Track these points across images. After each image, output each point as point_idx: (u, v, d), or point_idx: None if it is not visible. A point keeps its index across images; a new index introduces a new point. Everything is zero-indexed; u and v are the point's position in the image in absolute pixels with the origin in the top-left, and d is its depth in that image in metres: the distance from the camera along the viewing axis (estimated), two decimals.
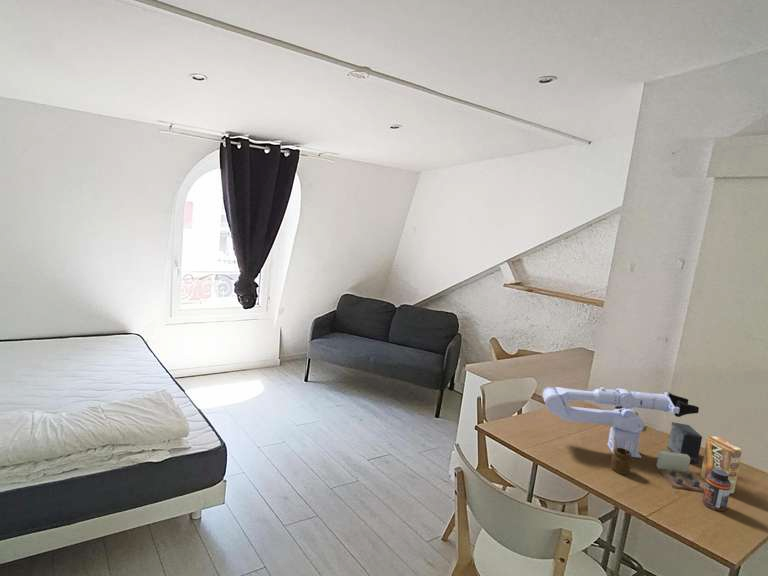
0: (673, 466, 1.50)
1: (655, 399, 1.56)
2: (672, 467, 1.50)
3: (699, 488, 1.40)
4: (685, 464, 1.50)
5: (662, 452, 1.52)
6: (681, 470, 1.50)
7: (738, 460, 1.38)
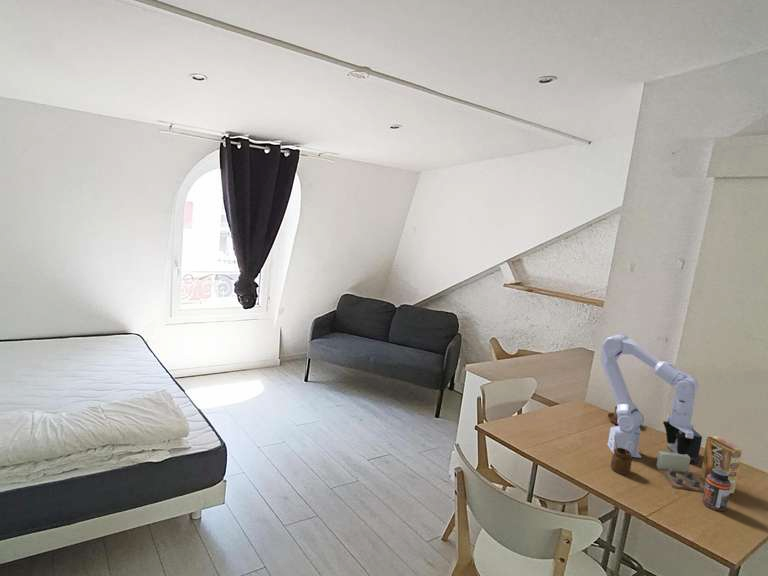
0: (673, 466, 1.50)
1: (690, 415, 1.46)
2: (672, 467, 1.50)
3: (699, 488, 1.40)
4: (685, 464, 1.50)
5: (662, 452, 1.52)
6: (681, 470, 1.50)
7: (738, 460, 1.38)
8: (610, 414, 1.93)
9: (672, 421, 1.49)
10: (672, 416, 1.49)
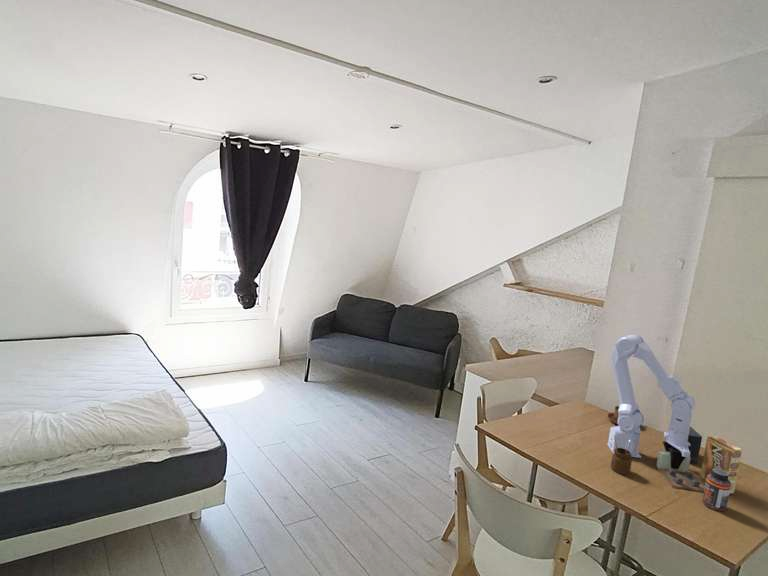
0: None
1: (687, 434, 1.47)
2: None
3: (699, 488, 1.40)
4: (685, 463, 1.50)
5: (662, 452, 1.52)
6: (681, 470, 1.50)
7: (738, 460, 1.38)
8: (610, 414, 1.93)
9: (669, 439, 1.50)
10: (669, 434, 1.50)
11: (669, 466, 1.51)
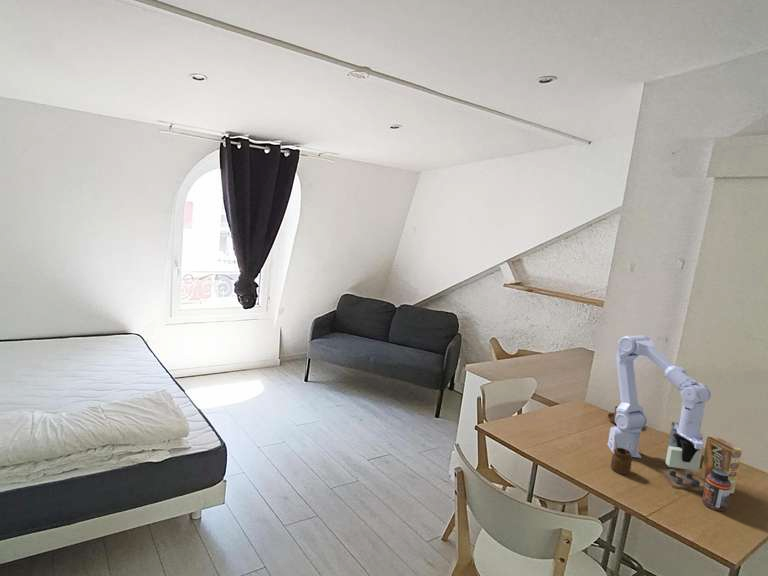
0: (683, 463, 1.42)
1: (699, 425, 1.39)
2: (682, 463, 1.42)
3: (699, 488, 1.40)
4: (696, 460, 1.41)
5: (671, 448, 1.43)
6: (692, 467, 1.42)
7: (738, 460, 1.38)
8: (610, 414, 1.93)
9: (680, 431, 1.41)
10: (680, 425, 1.42)
11: (679, 463, 1.42)
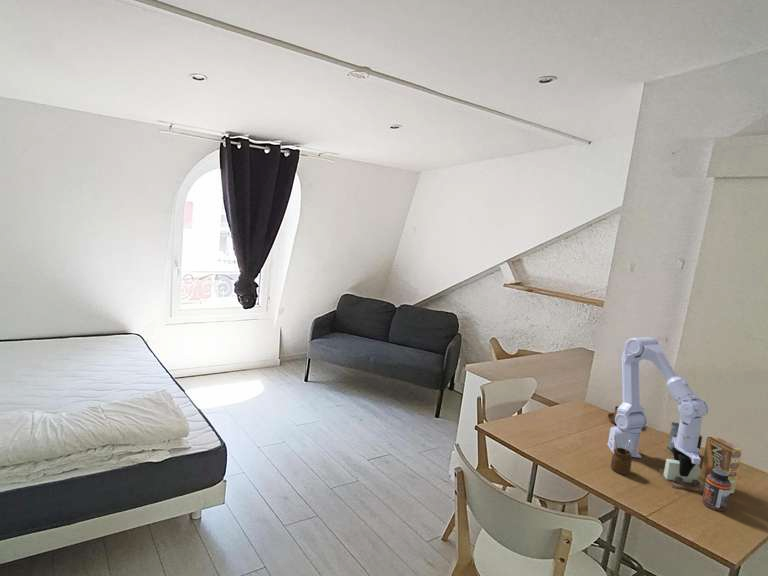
0: None
1: (697, 440, 1.39)
2: (680, 476, 1.43)
3: (699, 488, 1.40)
4: (694, 473, 1.42)
5: (670, 460, 1.44)
6: (690, 479, 1.42)
7: (738, 460, 1.38)
8: (610, 414, 1.93)
9: (678, 445, 1.42)
10: (678, 440, 1.42)
11: (677, 475, 1.43)
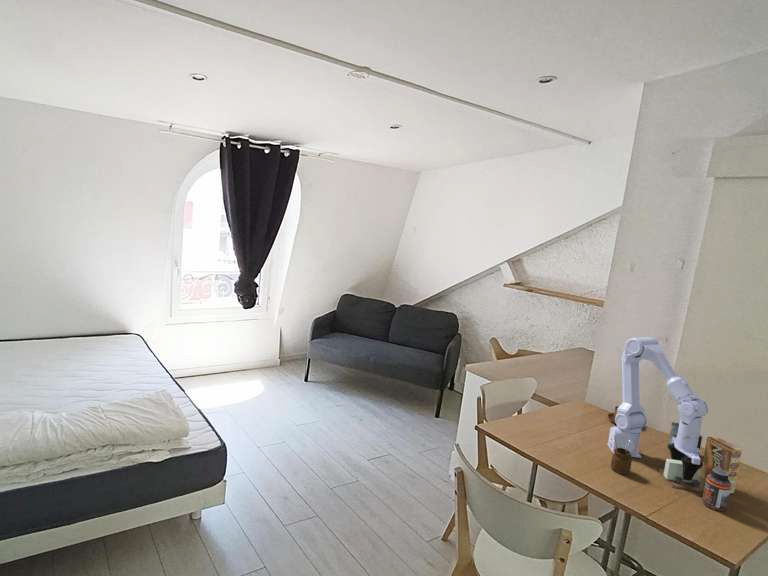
0: (681, 475, 1.43)
1: (697, 440, 1.39)
2: (680, 476, 1.43)
3: (699, 488, 1.40)
4: None
5: (670, 460, 1.44)
6: None
7: (738, 460, 1.38)
8: (610, 414, 1.93)
9: (677, 445, 1.42)
10: (677, 440, 1.42)
11: (677, 475, 1.43)
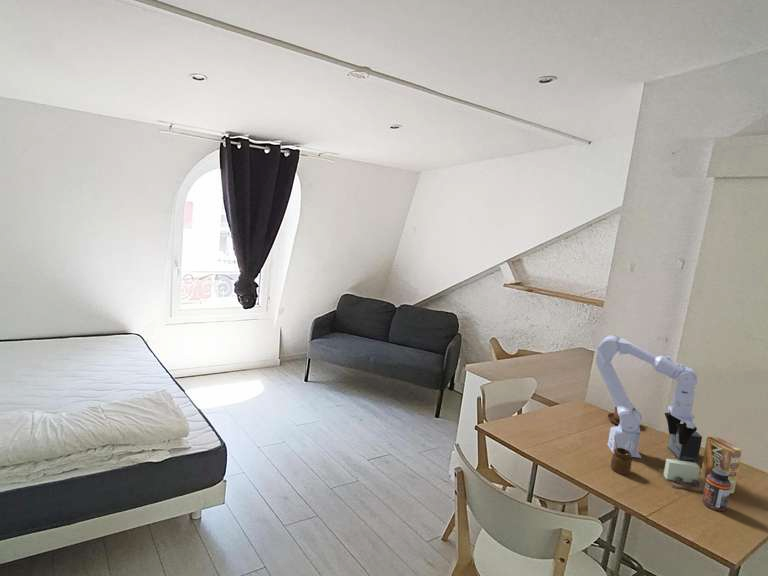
0: (681, 475, 1.43)
1: (691, 406, 1.48)
2: (680, 476, 1.43)
3: (699, 488, 1.40)
4: (694, 473, 1.42)
5: (670, 460, 1.44)
6: (690, 479, 1.42)
7: (738, 460, 1.38)
8: (610, 414, 1.93)
9: (673, 412, 1.51)
10: (673, 407, 1.52)
11: (677, 475, 1.43)
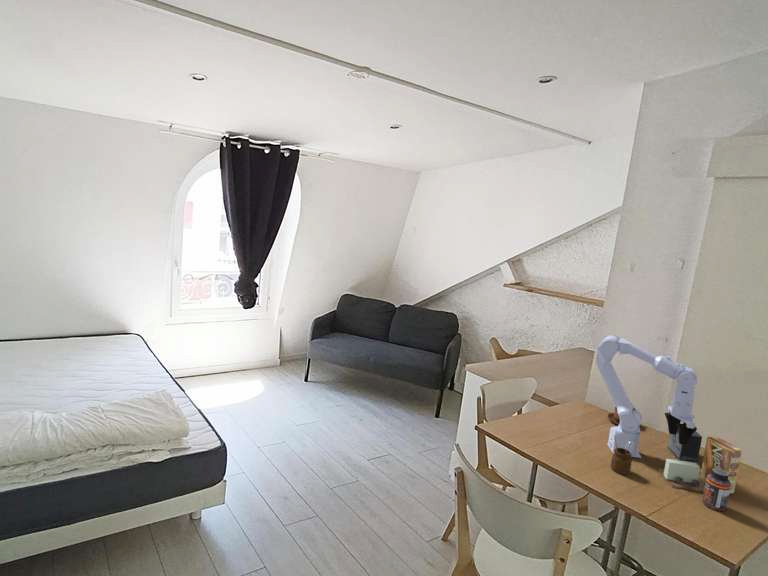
0: (681, 475, 1.43)
1: (691, 406, 1.48)
2: (680, 476, 1.43)
3: (699, 488, 1.40)
4: (694, 473, 1.42)
5: (670, 460, 1.44)
6: (690, 479, 1.42)
7: (738, 460, 1.38)
8: (610, 414, 1.93)
9: (673, 412, 1.51)
10: (673, 407, 1.52)
11: (677, 475, 1.43)
